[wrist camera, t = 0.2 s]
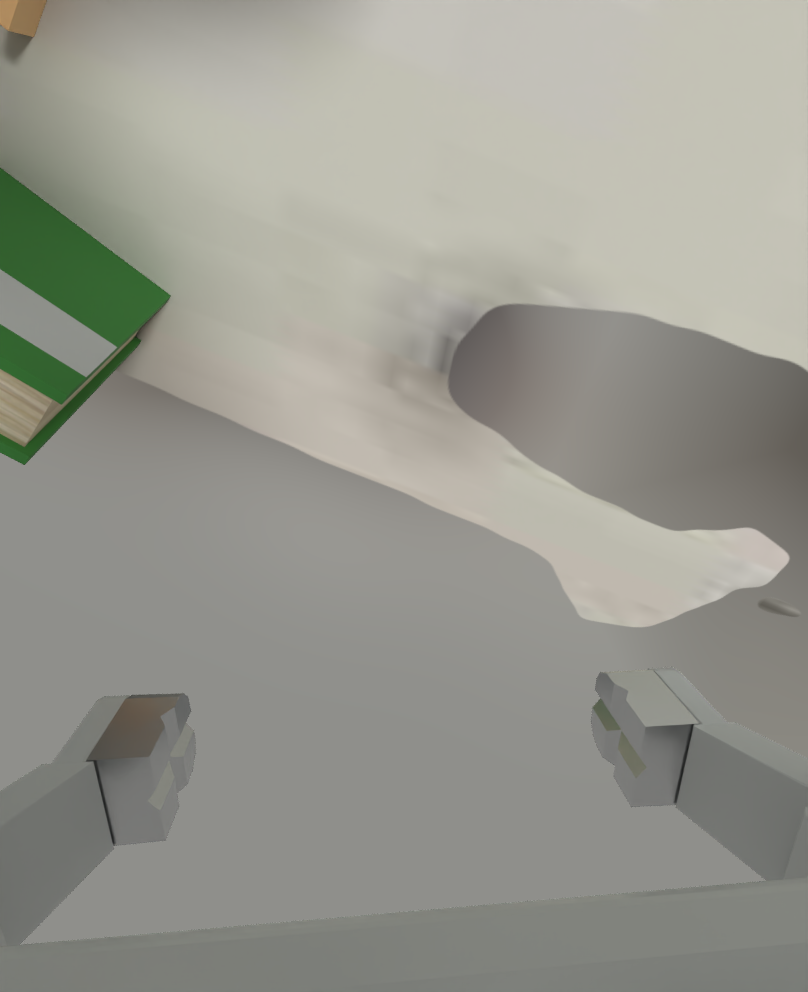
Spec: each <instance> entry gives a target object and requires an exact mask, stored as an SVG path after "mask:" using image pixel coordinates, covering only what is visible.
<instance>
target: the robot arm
mask: <svg viewBox="0 0 808 992" xmlns="http://www.w3.org/2000/svg"><path fill="white" fill-rule="evenodd" d="M595 690H596V691H597V693H598V695H599V696H600V698H601V699H600V700H599V701H598V702H597V703H596V704H595V705H594V706H593V708H592V717H591V724H592V731H593V737H594V740H595V743H596V745H597V748H598V750H599V751H600V753H601V755H602V757H603V758H605V759H606V760H607V761H609V762H610V763H612V764H613V765H615V771H614V778H615V780H616V782H617V783H618V785H619V787H620V789H621V790H622V792H623V794H624V796H625V797H626V799H627V801H628V802H629V804H630V806H631V807H640V806H663V805H676V808H677V809H678V810H680V811H681V812H682V813H683V814H685V815H686V816H687V817H688V818H689V819H691V820H692V821H693V822H694V823H696V824H697V825H698V826H699V827H701V828H702V829H703V830H704V831H706V832H707V833H708V834H709V835H711V836H712V837H713V838H714V839H715V840H717V841H718V842H719V843H720V844H722V845H723V846H724V847H725V848H727V849H728V850H729V851H730V852H732V853H733V854H734V855H735V856H737V857H738V858H739V859H740V860H742V861H743V862H744V863H745V864H746V865H748V866H749V867H750V868H751V869H753V870H754V871H755V872H756V873H758V874H759V875H760V876H761V877H762V878H764V879H765V880H766V881H759V882H748V883H736V884H725V885H713V886H701V887H691V888H690V887H689V888H678V889H666V890H656V891H643V892H632V893H621V894H620V893H619V894H608V895H595V896H584V897H572V898H560V899H549V900H537V901H525V902H513V903H501V904H491V905H478V906H466V907H455V908H444V909H431V910H420V911H408V912H397V913H385V914H373V915H361V916H350V917H338V918H326V919H315V920H303V921H291V922H280V923H269V924H258V925H257V924H256V925H245V926H234V927H222V928H210V929H198V930H188V931H176V932H163V933H152V934H140V935H129V936H117V937H105V938H93V939H82V940H71V941H58V942H47V943H35V944H23V945H20V944H21V943H22V942H23V941H24V940H25V939H26V938H27V937H28V936H29V935H30V934H31V933H32V932H33V931H34V930H35V929H36V928H37V927H38V926H39V925H40V923H42V922H43V920H45V918H46V917H48V915H49V914H50V913H51V912H52V911H53V910H54V909H55V908H56V907H57V906H58V905H59V904H60V903H61V902H62V901H63V900H64V899H65V898H66V897H67V896H68V895H69V894H70V893H71V892H72V891H73V890H74V889H75V888H76V887H77V886H78V885H79V884H80V883H81V882H82V881H83V880H84V879H85V878H86V877H87V876H88V875H89V874H90V873H91V872H92V871H93V870H94V869H95V867H97V866H98V865H99V864H100V863H101V862H102V861H103V860H104V858H105V857H106V856H107V855H108V854H109V853H110V852H111V851H112V850H113V849H114V846H117V845H126V844H136V843H147V842H156V841H165V840H166V838H167V836H168V833H169V830H170V828H171V826H172V823H173V821H174V818H175V815H176V813H177V810H178V808H179V802H178V796H177V793H178V792H179V791H180V790H182V789H183V788H184V787H185V786H186V785H187V784H188V782H189V779H190V776H191V773H192V771H193V765H194V759H195V754H196V753H195V752H196V745H195V744H196V742H195V733H194V730H193V729H192V728H191V727H190V726H189V725H188V724H187V723H186V721H187V719H188V717H189V714H190V712H191V708H190V703H189V698H188V696H186V695H185V694H184V693H182V694H149V695H131V696H129V695H126V696H125V695H124V696H104V697H102V698H100V699H99V700H97V701H96V703H95V704H94V705H93V707H92V708H91V709H90V711H89V712H88V714H87V715H86V716H85V718H84V719H83V720H82V722H81V723H80V725H79V726H78V728H77V729H76V730H75V732H74V733H73V734H72V736H71V737H70V738H69V740H68V741H67V743H66V744H65V745H64V747H63V748H62V750H61V751H60V752H59V754H58V755H57V756H56V758H55V759H54V760H53V762H52V763H51V764H43V765H40V766H39V767H37V768H36V769H34V770H33V771H31V772H29V773H28V774H26V775H25V776H23V777H22V778H20V779H18V780H17V781H15V782H14V783H12V784H10V785H9V786H7V787H6V788H4V789H3V790H1V791H0V992H808V758H806V757H804V756H802V755H800V754H798V753H796V752H794V751H792V750H790V749H788V748H786V747H784V746H782V745H780V744H778V743H776V742H774V741H772V740H770V739H768V738H766V737H764V736H762V735H760V734H758V733H756V732H754V731H752V730H750V729H748V728H746V727H744V726H742V725H740V724H738V723H736V722H735V723H728V722H727V721H726V720H725V719H724V718H723V717H722V716H721V715H720V714H719V713H718V712H717V710H716V709H715V708H714V707H713V706H712V705H711V704H710V703H709V702H708V701H707V700H706V699H705V698H704V697H703V696H702V695H701V694H700V692H699V691H698V690H697V689H696V688H695V687H694V686H693V685H692V684H691V683H690V682H689V681H688V680H687V679H686V678H685V677H684V675H683V674H681V672H680V671H679V670H677V669H675V668H673V667H665V668H652V669H647V670H633V671H614V672H600V673H599V675H598V677H597V680H596V686H595Z"/></svg>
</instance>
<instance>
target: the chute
mask: <svg viewBox="0 0 808 992" xmlns="http://www.w3.org/2000/svg"><path fill="white" fill-rule="evenodd" d="M46 1H47V0H0V24H1V25H2V26H3V27H4V28H5V29H7V30H8V31H11V32H15V33H19V34H23V35H27V36H31V37H34V35H35V33H36V30H37V27H38V24H39V21H40V18H41V16H42V13H43V10H44V7H45V4H46Z"/></svg>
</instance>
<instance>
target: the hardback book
mask: <svg viewBox="0 0 808 992" xmlns="http://www.w3.org/2000/svg"><path fill="white" fill-rule="evenodd" d="M170 296H171V295H169V294H168V293H167V292H165V291H164V290H162V289H161V288H160V287H158V286H157V285H156V284H154V283H153V282H152V281H150V280H149V279H148V278H146V277H145V276H144V275H142V274H141V273H140V272H138V271H137V270H136V269H134V268H133V267H132V266H130V265H129V264H128V263H126V262H125V261H124V260H122V259H121V258H120V257H118V256H117V255H116V254H114V253H113V252H112V251H110V250H109V249H108V248H106V247H105V246H104V245H102V244H101V243H100V242H98V241H97V240H96V239H94V238H93V237H92V236H90V235H89V234H88V233H86V232H85V231H84V230H82V229H81V228H80V227H78V226H77V225H76V224H74V223H73V222H72V221H70V220H69V219H68V218H66V217H65V216H64V215H62V214H61V213H60V212H58V211H57V210H56V209H54V208H53V207H52V206H50V205H49V204H48V203H46V202H45V201H44V200H42V199H41V198H40V197H38V196H37V195H36V194H34V193H33V192H32V191H30V190H29V189H28V188H26V187H25V186H24V185H22V184H21V183H20V182H18V181H17V180H16V179H14V178H13V177H12V176H10V175H9V174H8V173H6V172H5V171H4V170H2V169H1V168H0V453H2V454H4V455H6V456H8V457H10V458H12V459H14V460H16V461H18V462H20V463H22V464H24V465H25V464H26V463H27V462H28V461H29V460H30V459H31V458H32V457H33V456H34V455H35V453H36V452H37V451H38V450H39V449H40V448H41V447H42V446H43V445H44V444H45V443H46V442H47V441H48V440H49V439H50V438H51V437H52V436H53V435H54V433H56V431H57V430H58V429H59V428H60V427H61V426H62V425H63V424H64V423H65V422H66V421H67V420H68V419H69V418H70V417H71V416H72V415H73V414H74V413H75V412H76V411H77V409H78V408H79V407H80V406H81V405H82V404H83V403H84V402H85V401H86V400H87V399H88V398H89V397H90V396H91V395H92V394H93V393H94V392H95V391H96V390H97V388H98V387H99V386H100V385H101V384H102V383H103V382H104V381H105V380H106V379H107V378H108V377H109V376H110V375H111V374H112V373H113V372H114V371H115V370H116V369H117V368H118V366H119V365H120V364H121V363H122V362H123V361H124V360H125V359H126V358H127V357H128V356H129V355H130V354H131V353H132V352H133V351H134V350H135V349H136V348H137V346H138V345H139V343H140V342H141V340H139V339H138V338H137V337H135V335H136V334H137V332H138V331H139V329H140V328H141V327H142V326H143V325H144V324H145V323H146V322H147V321H148V320H149V319H150V318H151V317H152V316H153V315H154V314H155V313H156V312H157V311H158V310H159V309H160V308H161V307H162V306H163V305H164V304H165V303H167V301H168V299H169V298H170Z"/></svg>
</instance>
